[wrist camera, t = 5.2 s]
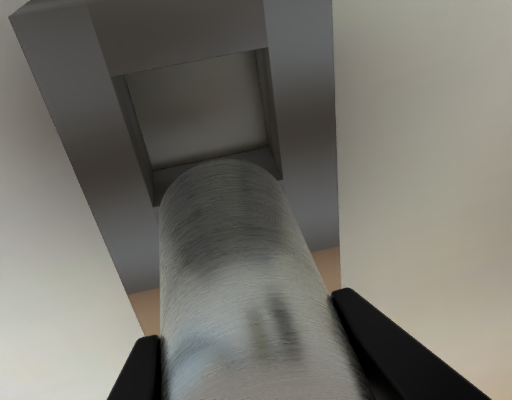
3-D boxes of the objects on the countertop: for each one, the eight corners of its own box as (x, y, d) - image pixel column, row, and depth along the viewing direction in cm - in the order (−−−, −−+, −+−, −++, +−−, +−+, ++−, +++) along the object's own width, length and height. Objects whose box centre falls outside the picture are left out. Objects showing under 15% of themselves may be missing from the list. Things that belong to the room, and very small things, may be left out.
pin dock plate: (328, 351, 30) (344, 390, 28) (183, 387, 29) (185, 431, 27) (304, -48, 16) (330, -40, 14) (31, -1, 16) (8, 17, 13)
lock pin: (329, 191, 13) (638, 698, 5) (241, 291, 14) (355, 806, 6) (201, 114, 11) (346, 771, 3) (114, 240, 12) (33, 900, 4)
